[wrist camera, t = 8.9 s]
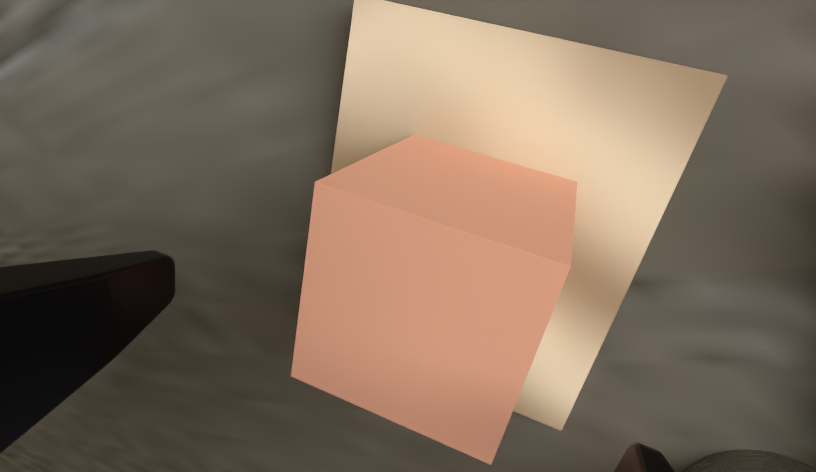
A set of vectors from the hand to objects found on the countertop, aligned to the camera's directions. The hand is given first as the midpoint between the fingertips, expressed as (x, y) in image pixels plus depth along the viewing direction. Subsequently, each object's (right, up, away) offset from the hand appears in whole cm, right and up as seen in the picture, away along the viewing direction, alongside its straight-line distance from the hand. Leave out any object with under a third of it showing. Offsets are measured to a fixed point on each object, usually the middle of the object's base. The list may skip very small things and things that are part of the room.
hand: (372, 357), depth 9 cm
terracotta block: (+3, +2, +6) cm, 7 cm away
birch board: (+3, +3, +7) cm, 9 cm away
